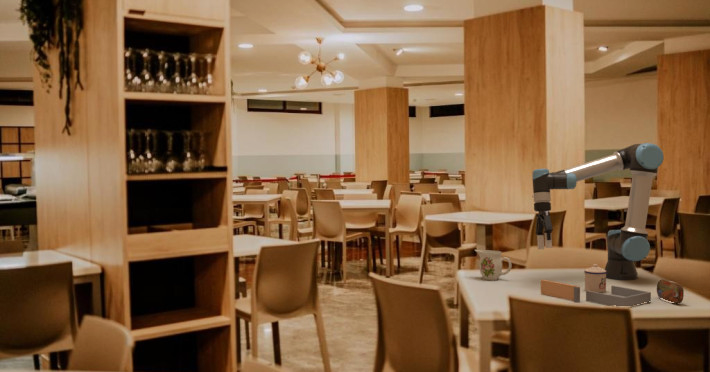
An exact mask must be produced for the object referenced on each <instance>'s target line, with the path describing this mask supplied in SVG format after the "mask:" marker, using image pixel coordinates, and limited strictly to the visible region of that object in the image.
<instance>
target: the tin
mask: <svg viewBox="0 0 710 372" xmlns="http://www.w3.org/2000/svg"><path fill="white" fill-rule="evenodd" d="M684 292H685V291H684V288H683V286H682V285H681V284H680V283H679V282H677V281H676V282H675V281H673V280H672V281H671V280H669V279H660V280H659V281H658V283H657V284H656V293H657V297H658V298H659V299H660V298H663V299H665V300H668V301H671V302H674V303H679V304H682V302H683V300H684Z"/></svg>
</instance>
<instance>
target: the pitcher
mask: <svg viewBox="0 0 710 372" xmlns="http://www.w3.org/2000/svg"><path fill="white" fill-rule="evenodd" d="M474 252H476V253H477V254H478V256H479V264H478V266H479V272H480V275H481V278H482V279H483V280H485V281H498V280H499V278H500V276H505V275H507V274H509V273H510V272H511V270H512V261H511V259H510V258H509V257H506V256H504V257H502V254H503V253H502V251H500V250H491V249H490V250H489V249H474ZM503 261H507V262H508V268H507V269H506V270H505V271H503ZM497 279H498V280H497Z"/></svg>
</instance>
